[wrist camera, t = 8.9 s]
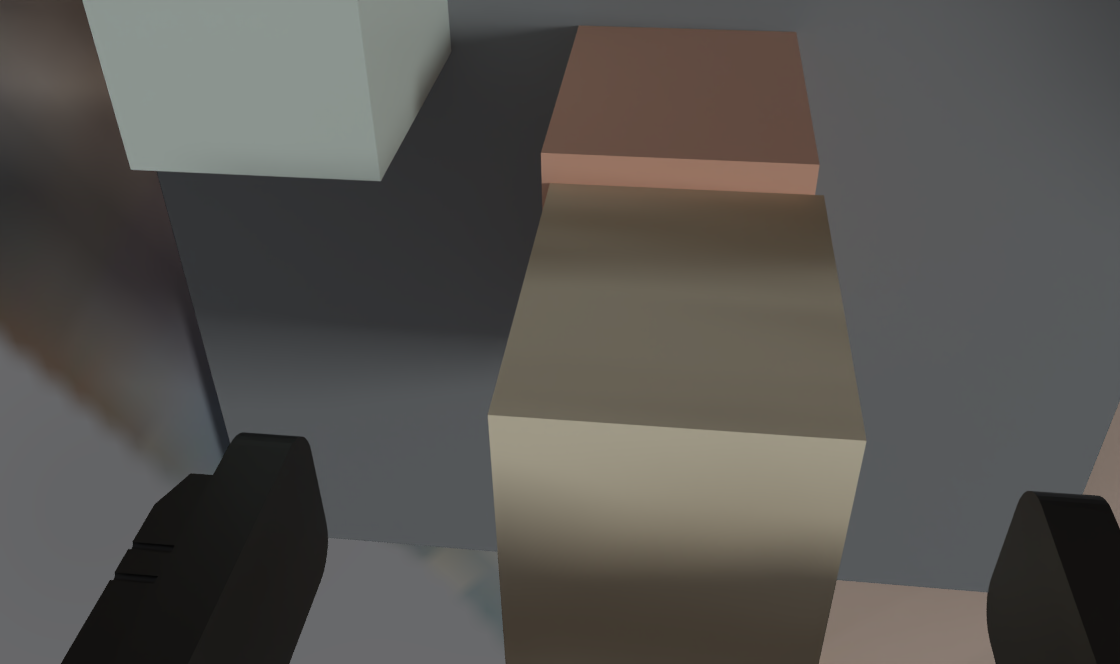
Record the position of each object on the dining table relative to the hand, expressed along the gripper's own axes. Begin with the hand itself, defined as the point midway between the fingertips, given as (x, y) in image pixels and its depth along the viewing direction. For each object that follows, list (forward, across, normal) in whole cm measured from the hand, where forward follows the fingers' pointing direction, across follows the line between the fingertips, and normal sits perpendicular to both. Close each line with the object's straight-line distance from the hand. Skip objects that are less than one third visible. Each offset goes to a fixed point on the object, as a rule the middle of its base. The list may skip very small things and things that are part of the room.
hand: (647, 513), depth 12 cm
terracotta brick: (+8, 0, 0) cm, 8 cm away
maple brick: (+3, 0, 0) cm, 3 cm away
